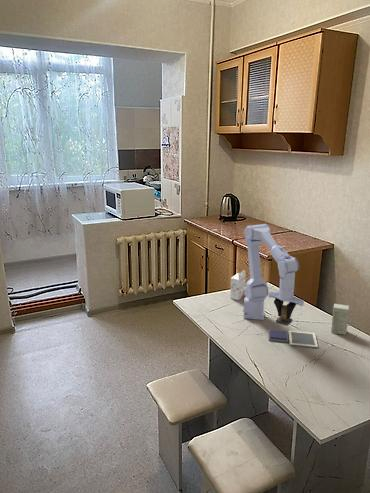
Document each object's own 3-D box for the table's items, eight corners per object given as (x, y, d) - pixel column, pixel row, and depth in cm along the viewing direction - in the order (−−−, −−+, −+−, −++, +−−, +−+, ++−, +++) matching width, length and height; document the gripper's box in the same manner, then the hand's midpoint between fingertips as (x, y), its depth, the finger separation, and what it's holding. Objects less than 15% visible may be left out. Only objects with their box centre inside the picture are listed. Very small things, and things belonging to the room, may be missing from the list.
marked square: (289, 345, 152) (289, 343, 152) (288, 331, 163) (288, 330, 163) (317, 348, 150) (318, 346, 150) (314, 334, 161) (314, 333, 160)
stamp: (275, 322, 156) (277, 307, 154) (281, 318, 159) (282, 303, 157) (287, 326, 153) (288, 310, 151) (292, 321, 156) (293, 306, 154)
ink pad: (268, 340, 156) (268, 337, 155) (268, 332, 163) (268, 328, 162) (288, 342, 154) (288, 339, 154) (287, 334, 161) (287, 330, 160)
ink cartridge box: (236, 292, 203) (237, 267, 198) (245, 294, 200) (246, 269, 196) (229, 298, 196) (230, 272, 191) (238, 300, 193) (239, 274, 189)
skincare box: (346, 330, 163) (350, 305, 160) (346, 335, 159) (349, 309, 156) (331, 327, 166) (334, 302, 162) (330, 332, 162) (333, 307, 158)
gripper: (307, 287, 150) (304, 318, 154) (274, 279, 158) (272, 308, 162) (301, 293, 145) (298, 324, 148) (266, 284, 153) (265, 314, 157)
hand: (284, 316), depth 155 cm, fingers closed on stamp, 3 cm apart
